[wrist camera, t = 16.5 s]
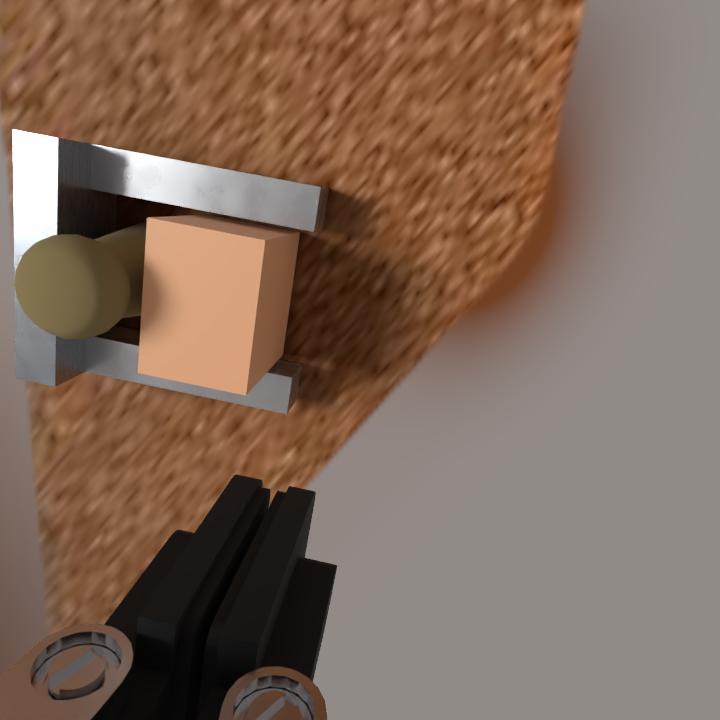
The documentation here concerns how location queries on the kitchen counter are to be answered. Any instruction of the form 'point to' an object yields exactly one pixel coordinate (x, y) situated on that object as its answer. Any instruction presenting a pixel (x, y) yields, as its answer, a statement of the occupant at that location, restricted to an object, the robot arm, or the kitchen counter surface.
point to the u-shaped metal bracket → (98, 218)
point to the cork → (82, 281)
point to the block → (215, 300)
